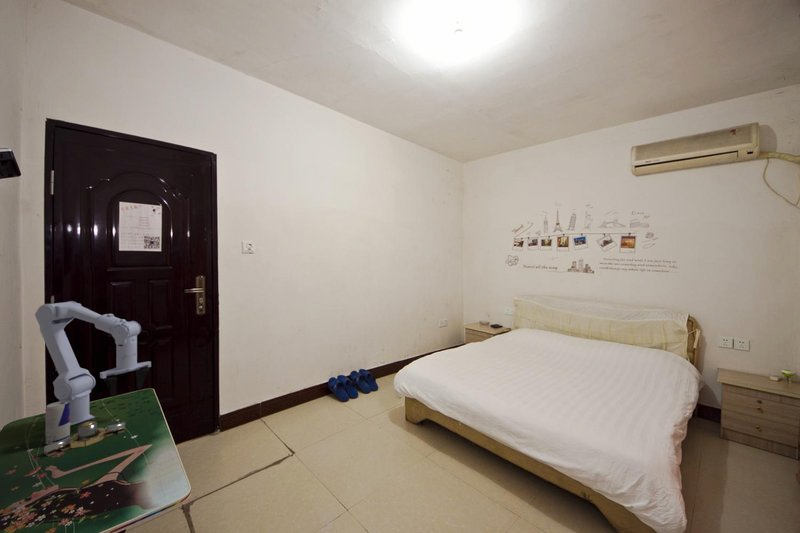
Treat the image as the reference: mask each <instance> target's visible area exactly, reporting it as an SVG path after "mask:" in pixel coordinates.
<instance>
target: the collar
mask: <svg viewBox="0 0 800 533" xmlns="http://www.w3.org/2000/svg"><path fill="white" fill-rule="evenodd" d="M106 434H107V433H106V432H105V427H104V428H103V427H97V436H95V437H92V438H90V439H87V440H82V441H78V432H77V433H73V435H70V437H69V439H70V443H69V445H68V446H70V449H76V448H83V447H87V446H90V445H92V444H95V443H98V442H101V441H102V440H104V438H106Z"/></svg>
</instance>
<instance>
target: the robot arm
mask: <svg viewBox="0 0 800 533" xmlns="http://www.w3.org/2000/svg"><path fill="white" fill-rule="evenodd" d="M34 316H35V319H36V321H37V323H38V326H39V332H40V334H41V336H42V339H43V341H44V343H45V345H46V348H47V350H48V353H49V354H50V357H51V359H52V361H53V364H54V367H55V369H56V371H57V373H58V376H57V377H56V378H55V380H53V382H52V384H53V388H54V391H53V394H54V396H55V397H56V399H58V402H59V401H69V403H70V427H71V426H75V425H76V424H77V425H78V424H80V423H84V422H87V421H89V420H92V419H95V416H94V415H92V414H90V393H92V390H93V388H95V386H96V379H95V377H94V376H93V375H92V374H91V373H90V371H89V370H88V369H86V368H82V367H80V364H79V363H78V360H77V358H76V355H75V353H74V351H73V349H72V346H71V344H70V341H69V339H68V337H67V334H66V331H65V330H64V329H65V327H66V326H67V325H68V324H70V322H72V321H73V320H74V319H78V320H81V321H85V322H87V323H91V324H94V327H95V329H97V330H100V331H103V332H104V333H107V334H111V335H112V338H113V339H114V343H115V345H116V348H115V349H116V352H115V353H116V359H115V361H116V364H115V365H116V367H114V368H111V369H108V370H105V371H104V370H103V371H101V372H99V378H100V379H103V381H104V383H106V385H107V387H108V389H109V391H110V396H112V397H116V396H117V385H118V380H119V379H118V377H116V376H117V375H122V374H126V373H129V372H134V371H135V374H136V376H135V377H136V388H137V389H142V387H143V384H144V381H145V380H146V377H147V375H148V373H150V368H151V367H152V361H143V362H142V361H141V362H138V335H139V334H140V333H141V331H142V327H141V324H140V323H138V321H135V320H131V321H127V320H126V319H124V318H122V319H121V318H119V317H116V316H115V315H114V314H113V313H105V314H99V312H98V313H97V312H95V311H93V310H91V309H89V308H87V307H84V306H82V304H81V303H80V302H79V303H78V302H76V301H73V300H69V301H66V302H65V301H64V302H56V303H44V304H42V305H40V306H39V307H38V308H37V309H36V312H35V314H34Z"/></svg>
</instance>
